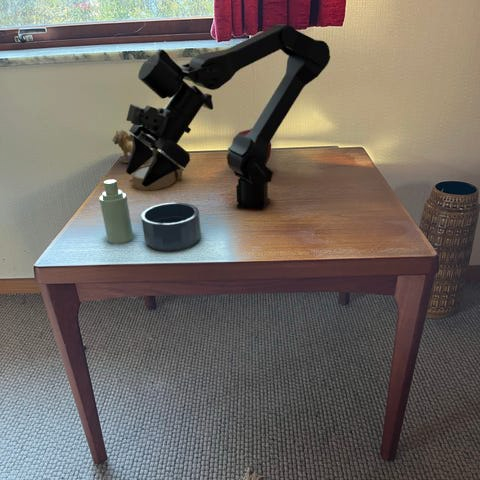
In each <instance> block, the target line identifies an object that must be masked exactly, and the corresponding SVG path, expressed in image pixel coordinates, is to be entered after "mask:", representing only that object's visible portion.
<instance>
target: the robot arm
mask: <svg viewBox="0 0 480 480" xmlns="http://www.w3.org/2000/svg"><path fill="white" fill-rule="evenodd" d="M278 51H281V52H282V53H283V54H285V55H286V56H288V57H287V60H286V67H285V68H286V69H285V73H284V75H283V77H282V79H281V81H280V83H279V84H278V85H277V88H276V89H275V91H274V92H273V94H272V95H271V97H270V98H269V100H268V102H267V104H266V105H265V106H264V108H263V110H262V111H261V113H260V115H259V117H258V118H257V120H256V121H255V123H254V125H253V126H252V127H251V128H252V130H251V131H250V132H249V133H248V134H246V135H245V136H243V135H240V134H238V133H237V134H238V135H237V134H236V135H237V136H236V135H235V136H236V137H235V136H234V137H235V140H234V142H233V141H232V142H233V144H232V143H231V145H230V146H229V147H228V148H227V150H228V153H227V155H226V161H227V165H228V167H229V169H230V170H232V171H233V173H234V176H235V177H237V178H238V179H237V185H236V186H235V189H236V190H235V191H236V192H235V193H236V202H237V204H236V208H238V209H247V210H257V211H263V210H264V209H265V208H266V207H267V205H268V204H269V203H270V202H271V198H270V197H269V186H268V185H269V184H268V183H271V182H272V179H273V176H274V171H272V170H271V169H270V168H269V167H268V166H267V165H266V166H265V165H264V163H265V161H266V159H267V154H268V145H269V142H271V141H272V139H273V137H274V136H275V134H276V133H277V131H278V130H279V128H280V127H281V125H282V123H283V121H284V120H285V119H286V116H287V115H288V113H289V112H290V110H291V109H292V107H293V106H294V104H295V102H296V101H297V98H299V96H300V94H301V93H302V91H303V89H304V88H305V87H306V86H307V85H308V84H309V83H311V82H312V81H314V80H315V79H316V78H318V77H319V76H320V74H321V73H322V72H323V71H324V70H325V69H326V67H328V65H329V63H330V60H331V52H330V51H331V49H330V46H329V45H328V43H327V42H325V41H324V40H321V39H315V38H312V37H311V36H309V35H306V34H305V33H302V32H301V31H299V30H297V29H296V28H294V27H293V26H292V25H290V24H283V23H277V24H274V25H272V26H271V27H270V28H268V29H267V30H265V31H262V32H260V33H258V34H256V35H254V36H252V37H249V38H248V39H245V40H243V41H241V42H240V43H237V44H235V45H233V46H231V47H228V48H226V49H221V50H215V51H209V52H205V53H200V54H197V55H195V56H193V57H192V58H191V59H190V60H189V62H188V63H185V64H181V65H179V64H177V63H176V61H174V60H173V58H171V56H170V55H169V54H168V52H166V51H165V50H164V49H162V48H157V50H156V51H155V53H153V54H152V55H151V56H150V57H148V59H147V60H146V61H145V60H144V62H143V63H142V65H141V67H140V69H139V71H138V74H137V78H138V79H139V81H141V83H143V84H144V85H145V86H146V87H148V88H149V89H150V90H151V91H152V92H153V93H154V94H156V95H157V97H159V98H160V99H163V100H164V99H166V98H168V99H169V100H168V102H167V104H166V105H165V107H162V106H161V107H158V108H156V107H153V106H152V105H151V106H150V105H148V104H147V105H146V106H145V107H141V106H138V105H136V104H132V103H130V104H129V108H128V111H127V115H126V120H125V121H127V122H130V123H131V124H132V126H131V127H130V128H129V133H130V134H129V135H130V137H131V139H132V143H133V149H132V153H131V154H130V156H129V162H128V163H127V166H126V169H125V173H127V174H128V175H129V176H132V173H133V172H135V171H136V170H137V169H138V168H140V167H141V166H143V164H144V163H145V164H146V163H147V162H148V161H149V160H150V159H151V158H152V161H151V162H150V163H151V165H150V167H149V169H148V171H147V173H146V174H145V176H144V179H143V181H142V185H143V186H145V187H147V186H149V185H150V184H152V183H154V182H155V181H157V180H159V179H160V178H162V177H164V176H166V175H168V174H170V173H172V172H174V171H175V170H180V167H179V166H178V165H180V166H182V168H183V169H186V168H187V166H188V164H189V163H190V161H191V156H190V155H191V154H190V153H189V152H188V151H187V150H185V149H184V148H183V147H182V146H181V145H180V144H179V142H180V140H181V139H182V137H183V136H184V134H185V133H186V134H188V135H189V134H190V132H191V131H192V128H191V127H189V126H190V125H191V123H192V122H193V121H194V119H195V117H196V116H197V115H198V113H199V111H200V110H201V109H202V107H203V108H204V109H205V108H206V109H208V110H210V111H212V110H214V103H213V96H212V94H210V93H204V92H203V91H201V90H200V89H199V87H201V88H204V89H206V90H211V91H216V90H218V89H219V88H221V87H222V86H224V85H225V84H227V83H228V82H229V81H230V80H232V79H233V77H234V76H235V75H236V73H238V72H239V71H240V70H241V69H244V68H245V67H248V66H250V65H251V64H254V63H256V62H257V61H260V60H262V59H264V58H265V57H266V58H267V57H268V56H270V55H272V54H274V53H276V52H278ZM186 81H189V82H191V83H193V85H189V84H188V83H187V82H186ZM159 150H160V151H159Z"/></svg>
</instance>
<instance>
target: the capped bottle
mask: <svg viewBox="0 0 480 480" xmlns="http://www.w3.org/2000/svg"><path fill="white" fill-rule="evenodd" d="M103 186H104V190H103V192H102V193H101V195H100V196H99V197H98V199H99V204H100V209H101V213H102V219H103V224H104V229H105V234H106V239H107V242H109V243H110V244H114V245H119V244H120V245H121V244H125V243H128V242H130V241H132V240H133V239H134V231H133V227H132V220H131V214H130V208H129V203H128V197H127V193H125V192H123V191H122V190H121V189H119V188H118V181H117V180H116V179H106V180H104V181H103Z"/></svg>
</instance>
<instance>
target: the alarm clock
mask: <svg viewBox="0 0 480 480" xmlns="http://www.w3.org/2000/svg"><path fill="white" fill-rule="evenodd" d="M151 163H152V162H150V163H145V164H146V165H142V166H141V167H140V168H138V169H137V170H136V171H135V172H133V173H132V174H131V177H132V178H131V179H129V180H128V182H129V183H133V186H134V188H136V189H138V190H142V191H154V190H160V189H164V188H166V187H169V186H171V185H173V184H175V182H176V181H178V180H180V179H181V178H182V176H183V172H184V170H185V168H183V167H182V166H180V165H178V166H179V167H180V170H175V171H174V172H172V173H170V174H168V175H166V176H164V177H162V178H160V179H159V180H157V181H155V182H154V183H152V184H150V185H149V186H147V187H145V186H143V185H142V181H143V179H144V176H145V174H146V173H147V171H148V169H149V167H150V165H151Z"/></svg>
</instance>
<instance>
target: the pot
mask: <svg viewBox="0 0 480 480" xmlns="http://www.w3.org/2000/svg"><path fill="white" fill-rule="evenodd" d="M140 219H141V228H142V233H143V240H144V242H145V244H147V245H148V246H149V247H151V248H152V249H154V250H156V251H163V252H176V251H181V250H185V249H188V248H190V247H192V246H194V245H195V244H196V243H197V242H198V241H199V240H200V239H201V237H202V236H201V235H202V230H201V220H200V219H201V217H200V210H199V208H198V207H197V206H195V205H193V204H190V203H186V202H165V203H160V204H156V205H152V206H150V207H148V208H146V209H145V210H144V211H142V212H141V214H140Z"/></svg>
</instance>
